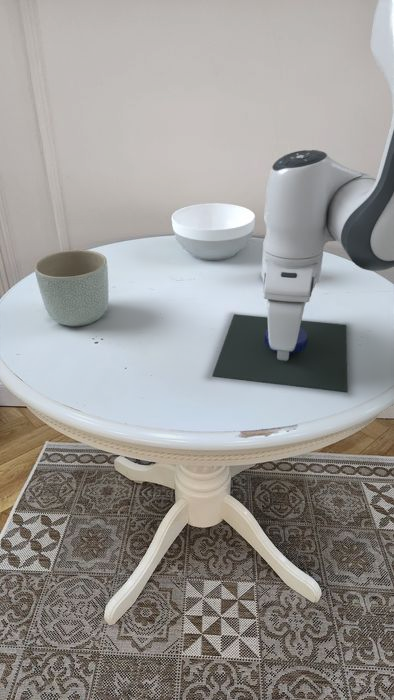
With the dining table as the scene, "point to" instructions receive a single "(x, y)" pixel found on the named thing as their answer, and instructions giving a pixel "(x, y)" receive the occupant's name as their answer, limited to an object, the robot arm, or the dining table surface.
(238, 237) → the bowl
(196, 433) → the dining table surface
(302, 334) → the jam lid
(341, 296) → the dining table surface
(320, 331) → the mat
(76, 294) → the planter
